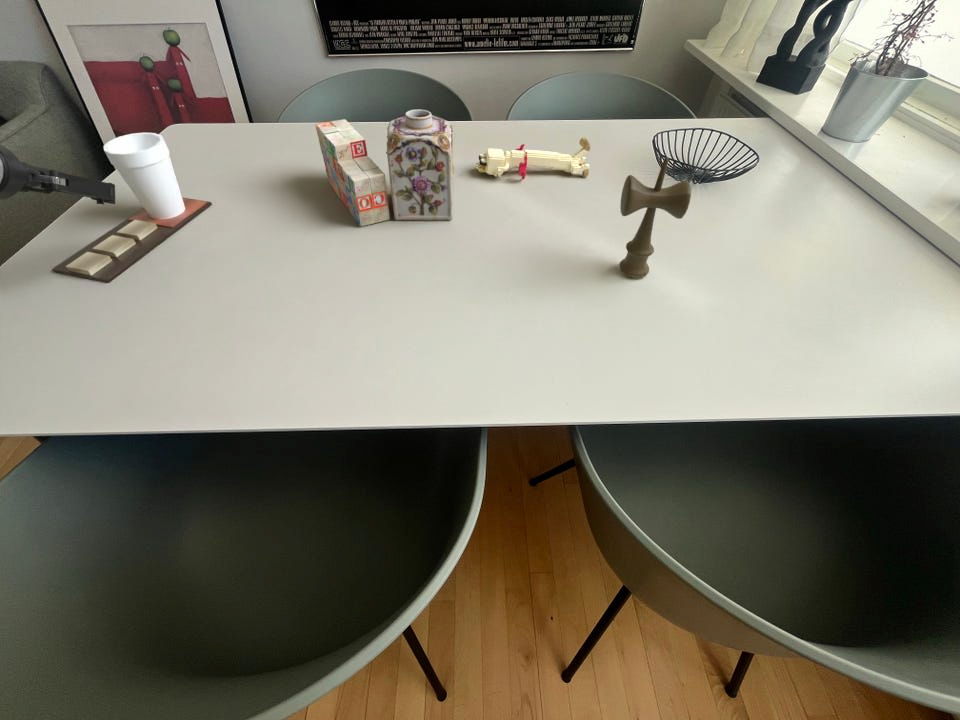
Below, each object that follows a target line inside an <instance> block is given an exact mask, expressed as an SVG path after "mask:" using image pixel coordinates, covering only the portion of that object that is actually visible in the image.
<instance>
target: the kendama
mask: <svg viewBox="0 0 960 720" xmlns="http://www.w3.org/2000/svg"><path fill="white" fill-rule="evenodd" d="M668 165H669V156H665V157H664V159H663V161H662V163H661V167H660V170H659V173H658V176H657V179H656V181H655V185H654V187H650V186H646V184H645V185H644V184H643V183H642V182H641V181H640V180H639V179H637V178H636V177H635V176H634V175H632V174H629V175H628V176H626V179H625V180H624V183H623V187H622V190H621V196H620V205H619V206H620V214H621V217H627V216H630V215H632V214H634V213H636V212H638V211H639V210H642V209H646V210H645V213H644V216H643V217H642V220H641V222H640V224H639V227H638V229H637V231H636V233H635V235H634V237H633V238H632V240H629V241H628V242H626V245H625V249H626V251H627V253H626V255H625V256H624V258H622V259H621V260H620V261H619V263H618V268H619V271H620V272H621V273H622V274H623V275H625V276H627V277H631V278H643V277H646V276H647V275H648V274H649V273H650V266H649V265H648V263H647V262H648V259H649V257H650V256H652V255H653V254H654V252H655V248H654V245H652V233H653V227H654V221H655V216H656V211H657V209H659V210H662V211H665V212H666V213H668V214H669V215H671V216H672V217H674V218H675V219H678V220H679V219H683V218H684V216H685V215H686V213H687V211H688V209H689V206H690V204H691V203H690V202H691V197H692V186H691V183H690V181H688V180H683V181H680V182H677V183H675V184H673V185H670V186H667V187H663V183H664V180H665V176H666V172H667V169H668Z"/></svg>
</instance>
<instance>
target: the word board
mask: <svg viewBox="0 0 960 720" xmlns="http://www.w3.org/2000/svg"><path fill="white" fill-rule="evenodd" d="M182 199H183V202H184V206H185V210H184V212H183V213H181V214H180V215H178V216H176V217H173V218H169V219H154V218H152V217H150V215H149V214H148V213H147V211H146V210H145V209H144V207H143V208H142V209H140V210H139V211H137V212H136V213H134V214H133V215H131V216H129V217H128V218H127V219H125V220H123V221H122V222H120V223H119V224H117V225H116V226H114V227H113V228H111V229H110V230H108V231H107V232H105V233H104V234H102V235H101V236H99V237H98V238H96V239H95V240H93V241H92V242H91V243H89V244H87V245H86V246H84V247H83V248H81V249H80V250H78V251H77V252H75V253H74V254H72V255H71V256H69V257H68V258H66V259H64V260H63V261H61V262H60V263H59V264H57V265H56V266H54V267H53V268H52V271H53V272H54V273H57V274H63V275H68V276H73V277H78V278H83V279H88V280H93V281H98V282H103V283H107V284H110V283H111V282H112V281H113V280H115V279H116V278H118V277H119V276H120V275H121V274H123V273H125V271H127V270H128V269H130V268H131V267H132V266H133V265H134V264H136V263H138V262H139V261H140V260H141V259H142V258H144V257H145V256H147V255H148V254H149V253H151V252H152V251H153V250H154V249H155V248H157V247H158V246H160V245H161V244H163V243H164V242H165V241H167V240H168V239H169V238H170V237H172V236H173V235H174V234H175V233H177V232H178V231H179V230H181V229H182V228H183V227H184V226H186V225H187V224H189V223H190V222H191V221H193V220H194V219H195V218H197V217H198V216H199V215H201V214H202V213H204V211H206V210H207V209H208V208H210V207H211V206H212V205H213V203H212V201H209V200H202V199H201V200H200V199H195V198H189V197H183V196H182Z"/></svg>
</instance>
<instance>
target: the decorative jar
mask: <svg viewBox="0 0 960 720" xmlns="http://www.w3.org/2000/svg"><path fill="white" fill-rule="evenodd" d="M386 129H387V134H386V139H387V141H386V152H385V153H386V158H387V166H388V176H389V184H390V185H389V186H390V193H391V194H390V195H391V202H392V209H393V216H394V220H395V221H452V220H453V219H454V218H453V217H454V214H453V213H454V173H455V172H454V170H455V166H454V155H453V153H454V152H453V145H454V144H453V143H454V142H453V141H454V137H453V132H454V130H453V125H452V123H451V122H450V121H448V120H446V119H444V118H442V117H439V116H437V115H433V114H432V112H430V111H429V110H427V109H419V108H418V109H410V110H408V111H405V115H404V116H401V117H397V118H395V119H392V120H390V121H389V124H388V126H387V128H386Z"/></svg>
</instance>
